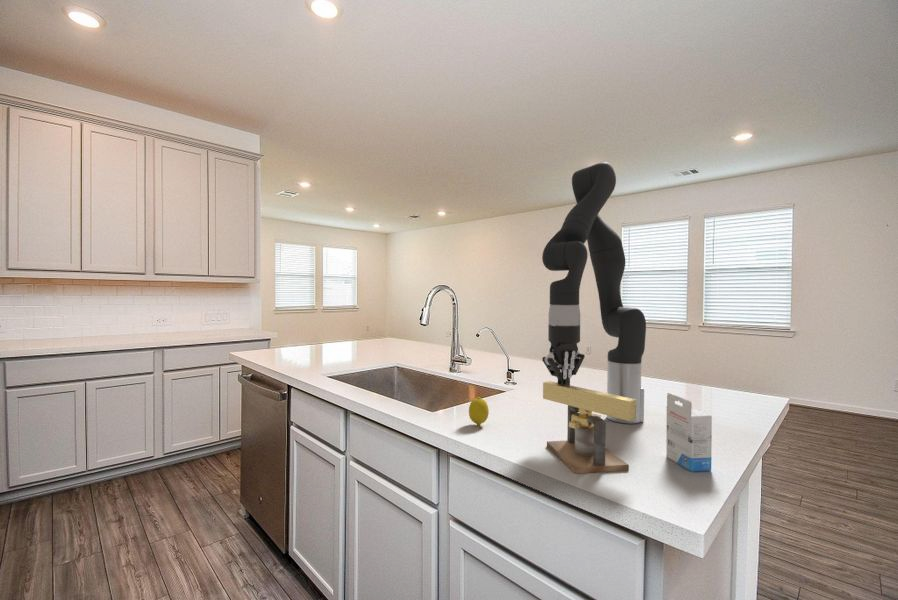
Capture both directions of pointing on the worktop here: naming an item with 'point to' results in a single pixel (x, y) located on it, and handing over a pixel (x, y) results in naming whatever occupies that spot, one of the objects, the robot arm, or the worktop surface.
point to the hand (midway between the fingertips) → (563, 393)
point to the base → (585, 460)
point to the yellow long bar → (589, 403)
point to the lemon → (478, 411)
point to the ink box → (688, 435)
